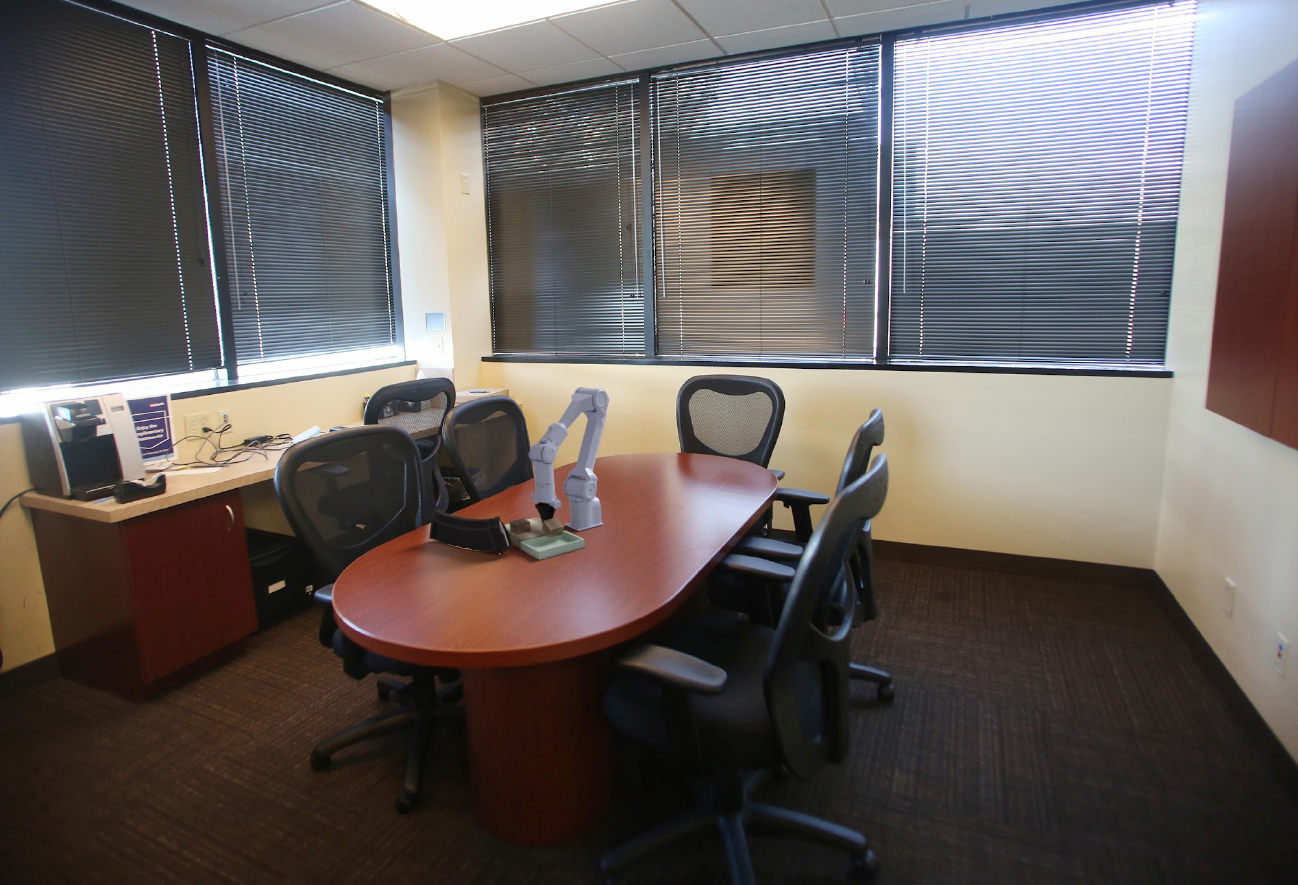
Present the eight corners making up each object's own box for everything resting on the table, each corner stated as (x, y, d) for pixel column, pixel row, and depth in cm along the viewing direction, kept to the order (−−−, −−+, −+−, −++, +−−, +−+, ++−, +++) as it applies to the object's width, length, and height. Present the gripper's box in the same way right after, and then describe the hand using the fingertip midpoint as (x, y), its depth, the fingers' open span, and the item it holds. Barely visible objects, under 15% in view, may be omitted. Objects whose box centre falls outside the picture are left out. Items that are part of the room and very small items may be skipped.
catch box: (565, 538, 214) (565, 530, 214) (585, 547, 206) (584, 539, 205) (520, 550, 206) (520, 541, 205) (539, 560, 197) (538, 551, 196)
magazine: (420, 513, 214) (490, 495, 198) (428, 510, 217) (497, 492, 201) (437, 567, 215) (508, 553, 199) (445, 563, 218) (515, 550, 202)
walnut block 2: (554, 525, 214) (556, 517, 213) (562, 534, 212) (563, 526, 210) (541, 528, 212) (543, 520, 210) (548, 537, 209) (550, 529, 207)
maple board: (537, 526, 227) (537, 517, 226) (563, 538, 214) (562, 528, 214) (497, 535, 219) (496, 526, 218) (521, 549, 206) (520, 539, 206)
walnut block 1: (523, 527, 216) (522, 518, 216) (530, 531, 213) (530, 521, 212) (510, 530, 214) (509, 521, 213) (517, 534, 210) (516, 524, 209)
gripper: (521, 480, 214) (524, 523, 217) (544, 489, 203) (547, 535, 206) (541, 476, 219) (544, 518, 221) (566, 485, 207) (568, 529, 210)
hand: (547, 526), depth 214 cm, fingers closed
